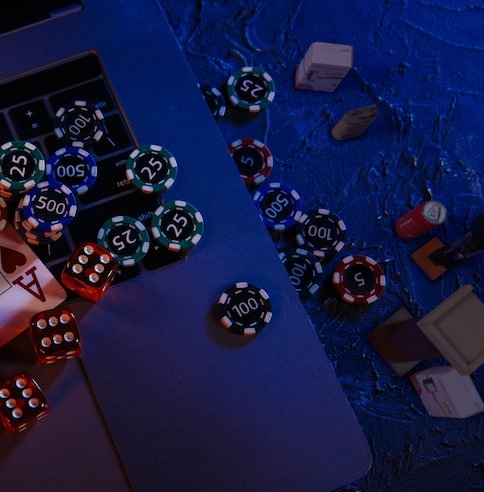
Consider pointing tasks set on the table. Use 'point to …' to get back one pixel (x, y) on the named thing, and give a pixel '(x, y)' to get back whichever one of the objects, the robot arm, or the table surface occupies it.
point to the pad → (424, 259)
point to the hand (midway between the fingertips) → (455, 247)
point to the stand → (402, 342)
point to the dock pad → (458, 330)
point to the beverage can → (421, 220)
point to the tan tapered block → (354, 122)
